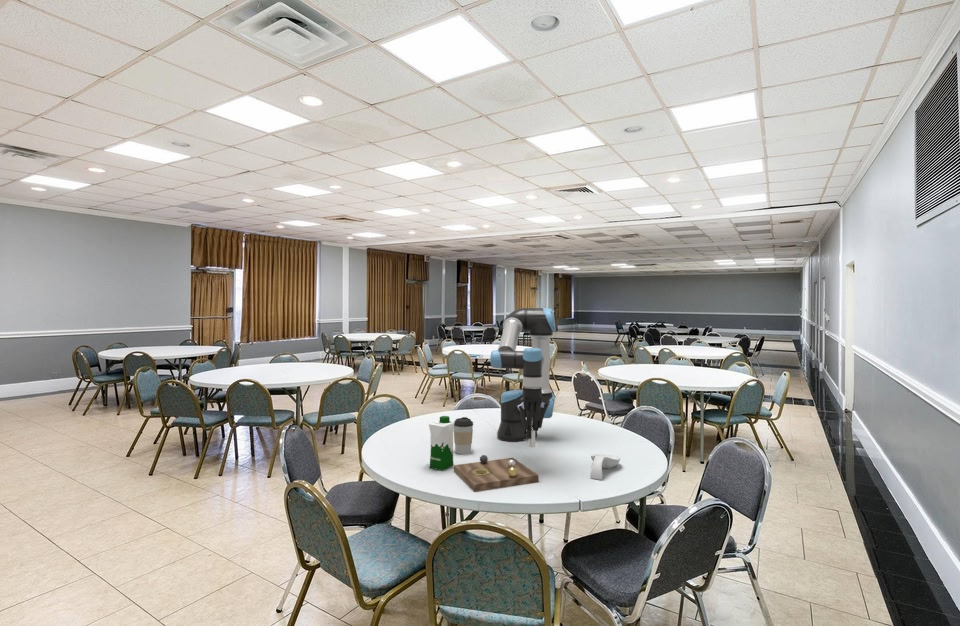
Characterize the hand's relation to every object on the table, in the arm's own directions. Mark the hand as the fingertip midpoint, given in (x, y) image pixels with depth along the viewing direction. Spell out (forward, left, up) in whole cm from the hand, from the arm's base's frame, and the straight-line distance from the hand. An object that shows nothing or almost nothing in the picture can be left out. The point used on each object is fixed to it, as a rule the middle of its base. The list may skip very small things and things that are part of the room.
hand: (531, 446), depth 190 cm
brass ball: (+13, +9, -6) cm, 16 cm away
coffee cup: (+17, -33, -10) cm, 39 cm away
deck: (+16, 0, -10) cm, 19 cm away
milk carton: (+32, -18, -10) cm, 38 cm away
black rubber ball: (+17, -9, -6) cm, 20 cm away
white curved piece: (-28, +9, -11) cm, 31 cm away
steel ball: (+9, 0, -6) cm, 11 cm away
